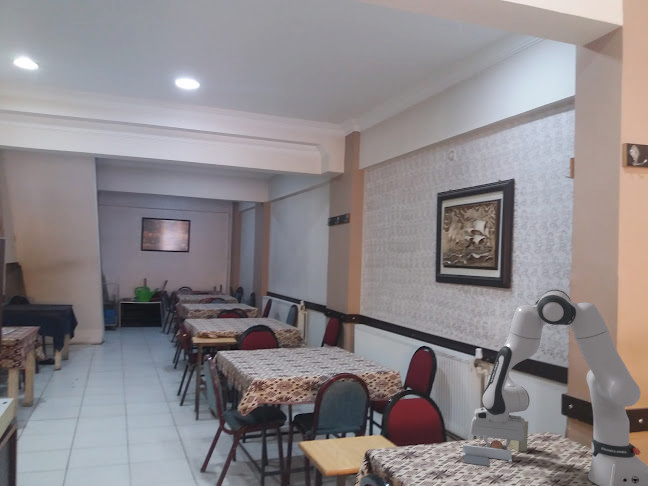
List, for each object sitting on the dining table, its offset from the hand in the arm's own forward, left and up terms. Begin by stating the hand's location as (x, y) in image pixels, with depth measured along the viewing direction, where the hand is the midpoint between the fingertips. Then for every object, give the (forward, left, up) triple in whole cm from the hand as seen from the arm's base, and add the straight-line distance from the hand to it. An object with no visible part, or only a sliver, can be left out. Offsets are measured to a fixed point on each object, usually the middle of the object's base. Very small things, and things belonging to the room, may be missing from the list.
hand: (496, 449), depth 205 cm
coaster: (+8, +11, -2) cm, 14 cm away
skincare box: (-9, -9, -2) cm, 13 cm away
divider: (+4, +5, -2) cm, 7 cm away
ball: (0, 0, -2) cm, 2 cm away
